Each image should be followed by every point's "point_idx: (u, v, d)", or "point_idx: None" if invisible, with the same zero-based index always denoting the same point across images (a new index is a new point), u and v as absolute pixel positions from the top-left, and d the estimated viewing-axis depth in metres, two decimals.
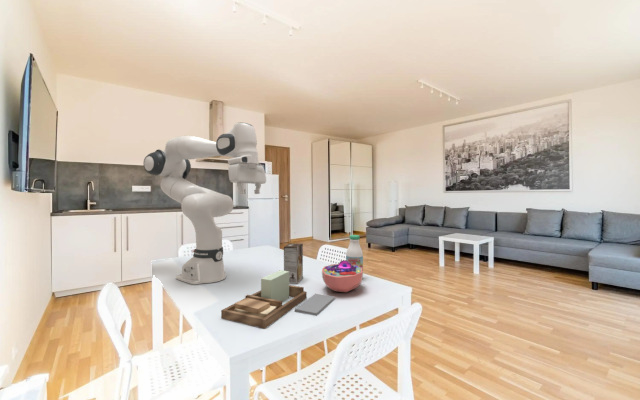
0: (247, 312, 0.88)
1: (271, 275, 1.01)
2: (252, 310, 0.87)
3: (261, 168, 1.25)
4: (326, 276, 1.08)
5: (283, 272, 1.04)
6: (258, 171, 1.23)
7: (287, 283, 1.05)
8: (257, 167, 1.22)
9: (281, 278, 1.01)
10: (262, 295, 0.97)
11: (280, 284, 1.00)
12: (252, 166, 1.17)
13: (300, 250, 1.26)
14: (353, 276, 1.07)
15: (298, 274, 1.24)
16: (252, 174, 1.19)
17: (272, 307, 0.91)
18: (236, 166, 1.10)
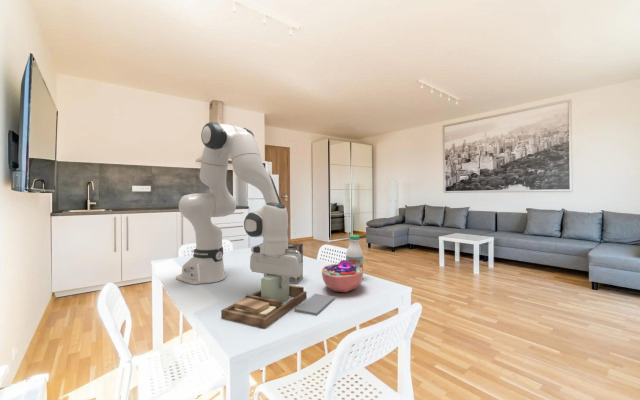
0: (246, 312, 0.88)
1: (271, 275, 1.01)
2: (251, 310, 0.87)
3: (289, 258, 0.97)
4: (326, 276, 1.08)
5: None
6: (285, 262, 0.98)
7: (287, 283, 1.05)
8: (282, 257, 0.98)
9: (281, 278, 1.01)
10: (262, 295, 0.97)
11: None
12: (268, 257, 0.99)
13: (300, 250, 1.26)
14: (353, 276, 1.07)
15: None
16: (273, 265, 1.00)
17: (272, 307, 0.90)
18: None
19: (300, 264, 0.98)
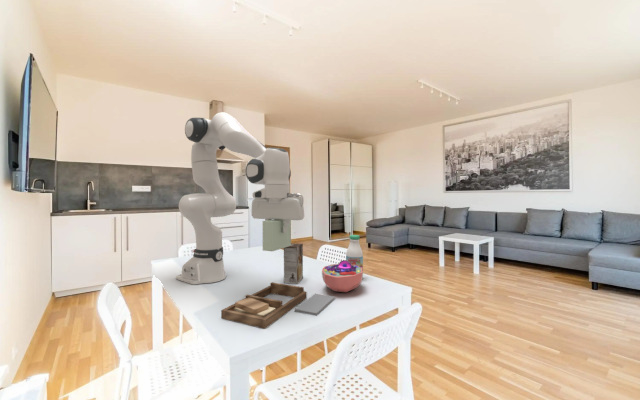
0: (245, 312, 0.88)
1: None
2: (249, 310, 0.86)
3: (291, 201, 0.96)
4: (326, 276, 1.08)
5: None
6: (286, 205, 0.97)
7: (289, 230, 1.04)
8: (284, 200, 0.97)
9: (283, 223, 1.01)
10: (264, 237, 0.96)
11: None
12: (270, 201, 0.98)
13: (300, 250, 1.26)
14: (353, 276, 1.07)
15: (298, 274, 1.24)
16: (275, 209, 0.99)
17: (271, 308, 0.89)
18: None
19: (302, 207, 0.97)
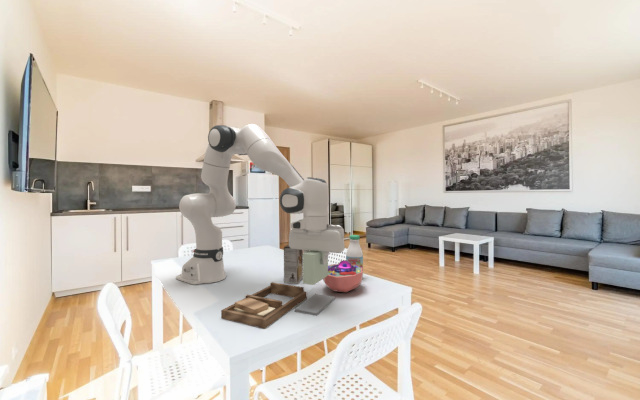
0: (245, 312, 0.88)
1: (311, 251, 0.98)
2: (249, 310, 0.86)
3: (332, 233, 0.94)
4: None
5: None
6: (327, 237, 0.95)
7: (326, 260, 1.03)
8: (324, 232, 0.96)
9: (322, 254, 0.99)
10: (304, 270, 0.94)
11: None
12: (309, 232, 0.97)
13: (300, 250, 1.26)
14: (353, 276, 1.07)
15: (298, 274, 1.24)
16: (314, 241, 0.97)
17: (271, 308, 0.89)
18: None
19: (342, 239, 0.95)
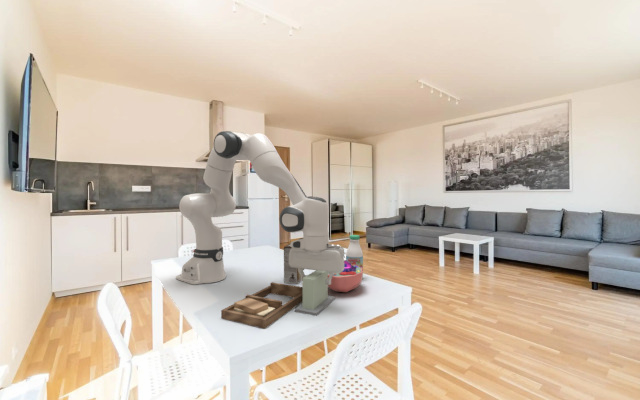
0: (245, 312, 0.88)
1: (311, 274, 0.98)
2: (249, 310, 0.86)
3: (332, 253, 0.95)
4: None
5: (322, 271, 1.02)
6: (327, 257, 0.96)
7: None
8: (324, 252, 0.96)
9: (321, 277, 0.99)
10: (304, 295, 0.94)
11: (320, 283, 0.98)
12: (309, 252, 0.97)
13: None
14: (353, 276, 1.07)
15: (298, 274, 1.24)
16: (314, 260, 0.97)
17: (270, 308, 0.89)
18: None
19: (342, 259, 0.95)
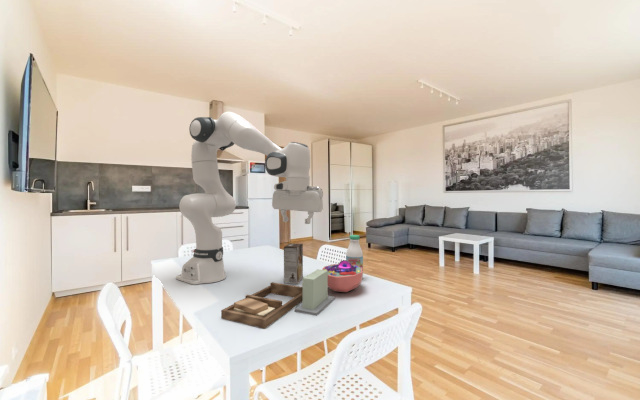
0: (245, 312, 0.87)
1: (311, 274, 0.98)
2: (249, 310, 0.86)
3: (311, 194, 1.02)
4: None
5: (322, 271, 1.02)
6: (307, 197, 1.03)
7: (326, 282, 1.03)
8: (304, 193, 1.03)
9: (321, 277, 0.99)
10: (304, 295, 0.94)
11: (320, 283, 0.98)
12: (291, 193, 1.04)
13: (300, 250, 1.26)
14: (353, 276, 1.07)
15: (298, 274, 1.24)
16: (295, 201, 1.05)
17: (270, 308, 0.89)
18: None
19: (321, 200, 1.03)
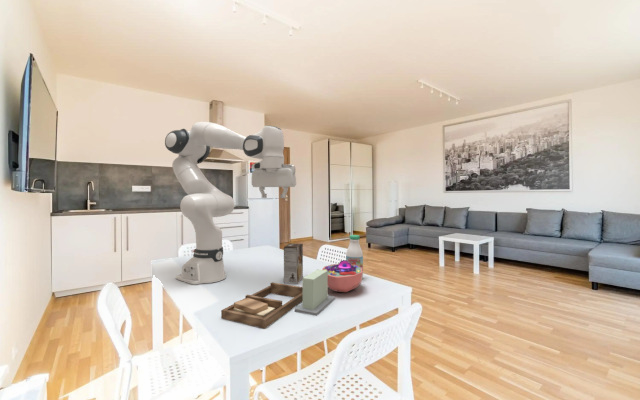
0: (245, 312, 0.87)
1: (311, 274, 0.98)
2: (249, 310, 0.86)
3: (285, 170, 1.14)
4: None
5: (322, 271, 1.02)
6: (281, 174, 1.15)
7: (326, 282, 1.03)
8: (279, 170, 1.15)
9: (321, 277, 0.99)
10: (304, 295, 0.94)
11: (320, 283, 0.98)
12: (267, 171, 1.16)
13: (300, 250, 1.26)
14: (353, 276, 1.07)
15: (298, 274, 1.24)
16: (271, 178, 1.17)
17: (270, 308, 0.90)
18: None
19: (294, 176, 1.15)
